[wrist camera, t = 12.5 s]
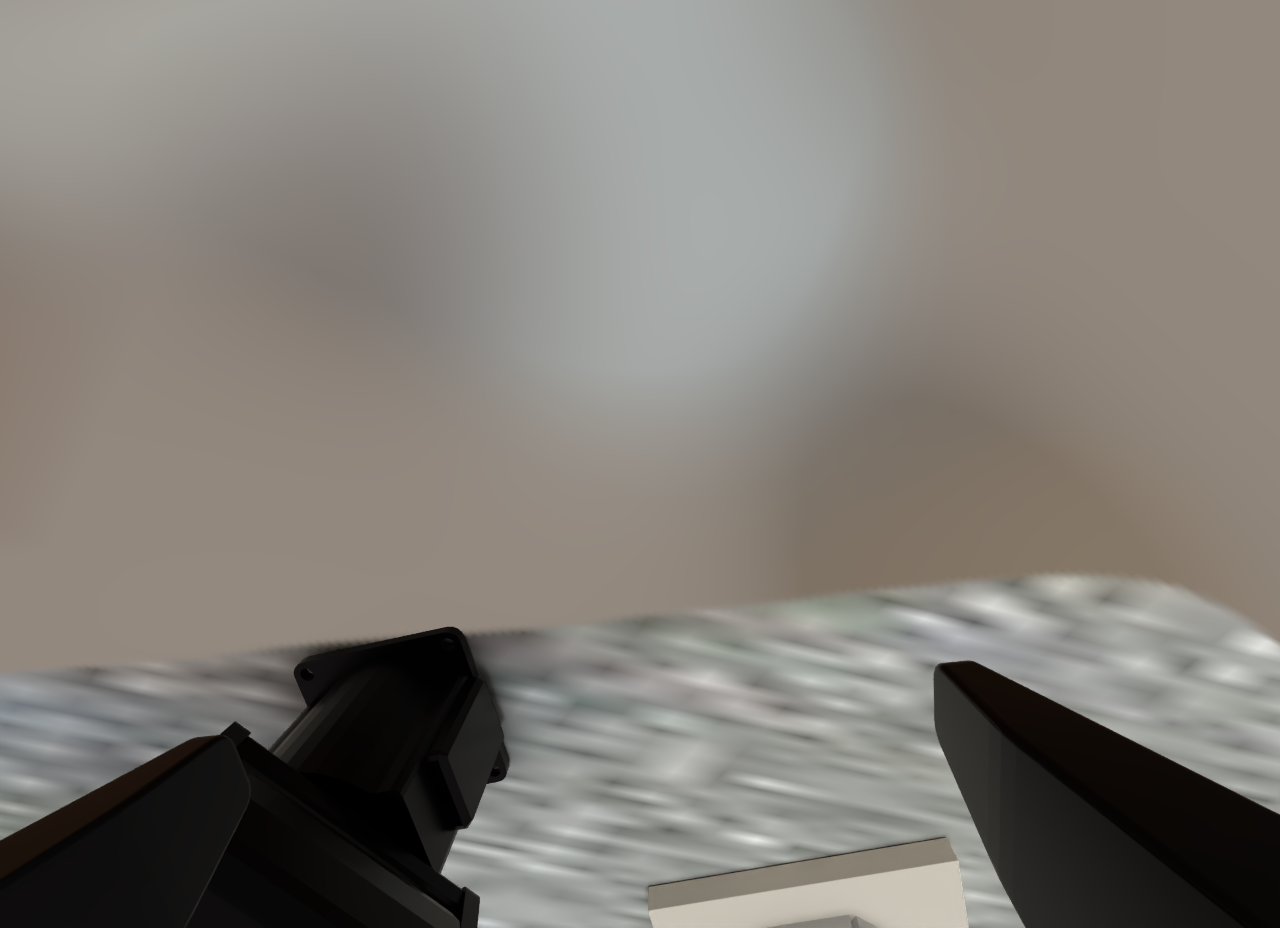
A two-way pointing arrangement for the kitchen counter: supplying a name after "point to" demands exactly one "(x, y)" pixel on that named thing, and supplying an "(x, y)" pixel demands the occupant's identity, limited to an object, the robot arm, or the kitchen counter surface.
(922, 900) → the collar mount
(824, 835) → the kitchen counter surface
